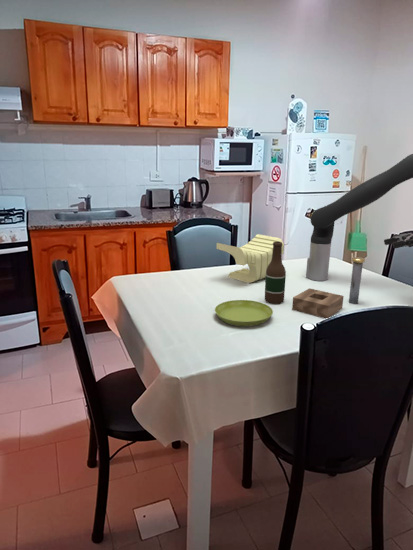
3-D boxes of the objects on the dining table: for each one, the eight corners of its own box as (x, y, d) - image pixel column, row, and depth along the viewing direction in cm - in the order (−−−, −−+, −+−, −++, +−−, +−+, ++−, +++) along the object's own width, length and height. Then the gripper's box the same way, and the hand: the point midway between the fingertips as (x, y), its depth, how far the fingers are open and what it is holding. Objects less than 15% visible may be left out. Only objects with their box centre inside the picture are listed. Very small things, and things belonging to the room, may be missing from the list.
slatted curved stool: (242, 288, 181) (244, 248, 175) (216, 280, 191) (216, 242, 186) (282, 274, 201) (284, 238, 196) (255, 268, 212) (257, 234, 207)
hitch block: (292, 309, 157) (293, 297, 155) (308, 300, 167) (309, 288, 166) (327, 319, 148) (328, 305, 147) (342, 308, 159) (343, 295, 157)
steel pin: (345, 302, 165) (350, 258, 159) (349, 299, 168) (354, 256, 163) (357, 305, 162) (362, 260, 157) (361, 302, 165) (366, 258, 160)
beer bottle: (285, 299, 168) (289, 241, 161) (282, 305, 161) (286, 245, 154) (266, 296, 170) (269, 239, 163) (262, 303, 163) (265, 243, 156)
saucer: (230, 304, 163) (231, 296, 162) (280, 314, 153) (281, 306, 152) (204, 321, 146) (204, 313, 145) (258, 334, 136) (258, 325, 135)
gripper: (421, 222, 164) (380, 232, 165) (440, 226, 150) (395, 236, 151) (424, 241, 165) (383, 250, 166) (442, 246, 151) (398, 256, 152)
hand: (388, 244), depth 159 cm, fingers open, 8 cm apart
